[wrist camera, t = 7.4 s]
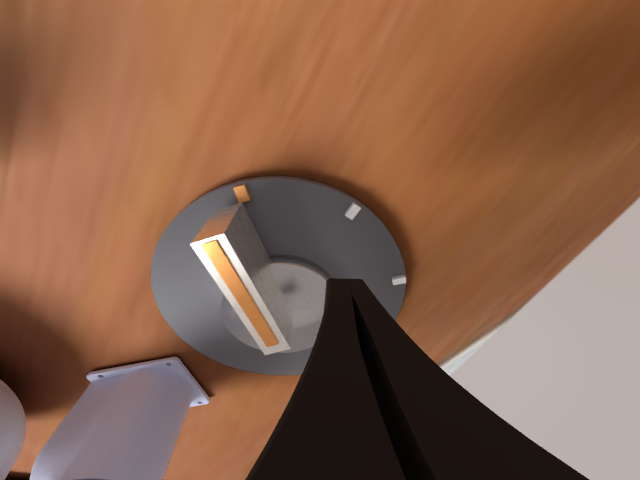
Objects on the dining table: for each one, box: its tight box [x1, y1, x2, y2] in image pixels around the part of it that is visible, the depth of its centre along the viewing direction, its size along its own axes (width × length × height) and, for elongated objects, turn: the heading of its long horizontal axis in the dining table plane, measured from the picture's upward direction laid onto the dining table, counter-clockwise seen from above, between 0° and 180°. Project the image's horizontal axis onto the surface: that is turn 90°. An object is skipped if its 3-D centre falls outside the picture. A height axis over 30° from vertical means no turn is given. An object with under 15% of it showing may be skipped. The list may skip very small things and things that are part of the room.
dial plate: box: [151, 175, 406, 375], centre depth 21 cm, size 20×20×1 cm
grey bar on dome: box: [190, 202, 332, 355], centre depth 18 cm, size 14×9×5 cm, turn 17°
